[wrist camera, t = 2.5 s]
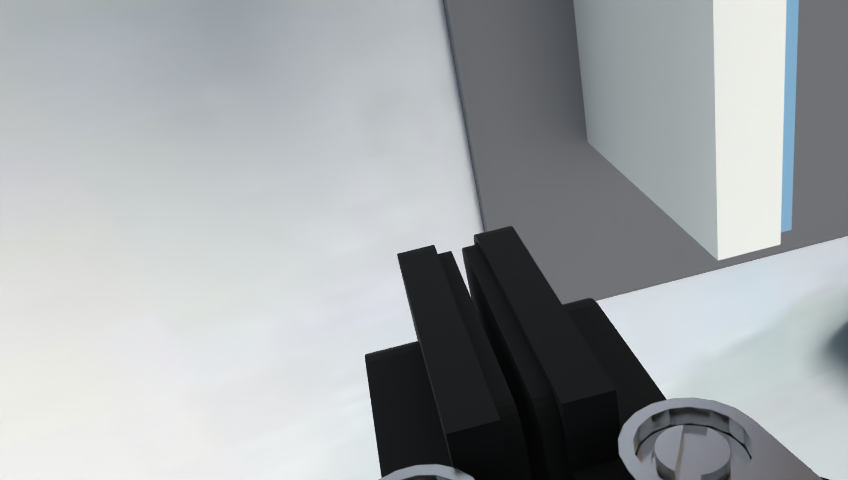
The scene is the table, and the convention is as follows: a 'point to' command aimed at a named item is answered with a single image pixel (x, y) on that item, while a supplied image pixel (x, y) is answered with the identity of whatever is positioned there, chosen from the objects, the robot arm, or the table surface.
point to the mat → (594, 175)
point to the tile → (697, 110)
